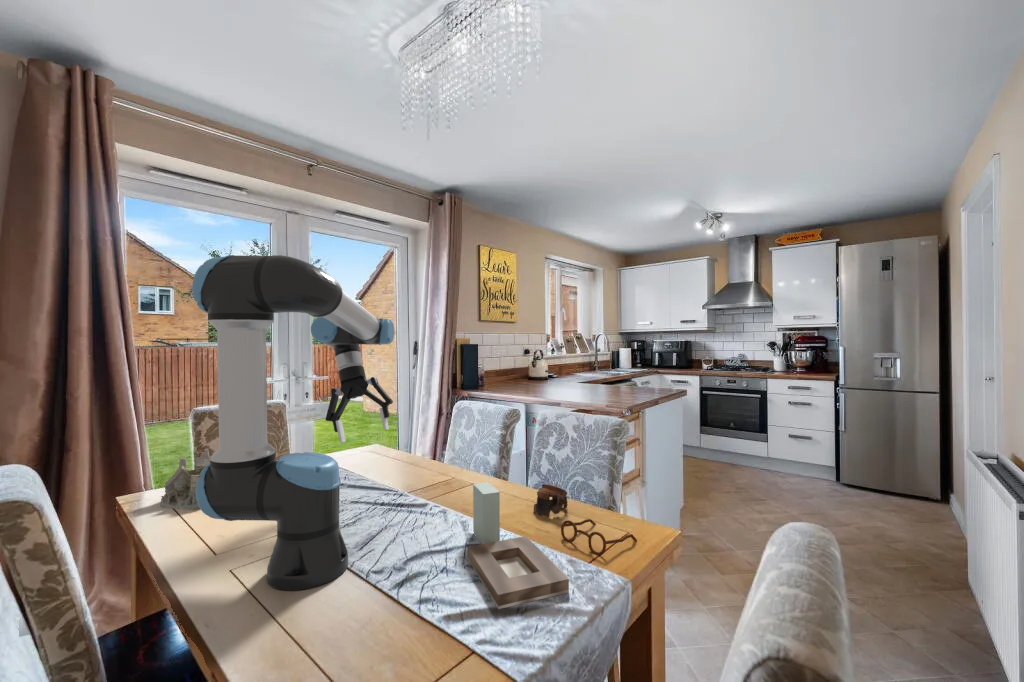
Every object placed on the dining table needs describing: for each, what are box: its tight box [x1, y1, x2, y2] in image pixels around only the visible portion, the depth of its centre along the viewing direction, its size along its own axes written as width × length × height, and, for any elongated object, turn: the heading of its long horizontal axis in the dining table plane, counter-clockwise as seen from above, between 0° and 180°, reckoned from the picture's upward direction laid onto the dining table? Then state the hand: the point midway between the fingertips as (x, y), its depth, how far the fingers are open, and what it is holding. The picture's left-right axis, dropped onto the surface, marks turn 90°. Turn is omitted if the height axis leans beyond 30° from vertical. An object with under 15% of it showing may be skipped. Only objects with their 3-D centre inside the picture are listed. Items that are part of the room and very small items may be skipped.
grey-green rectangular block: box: [472, 482, 501, 544], centre depth 106 cm, size 4×8×12 cm, turn 22°
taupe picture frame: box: [466, 535, 570, 610], centre depth 90 cm, size 14×20×2 cm
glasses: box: [560, 518, 638, 556], centre depth 105 cm, size 13×13×5 cm
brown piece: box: [533, 483, 568, 518], centre depth 123 cm, size 12×10×8 cm
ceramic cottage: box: [160, 448, 211, 511], centre depth 131 cm, size 16×16×15 cm
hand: (364, 435), depth 133 cm, fingers open, 13 cm apart
